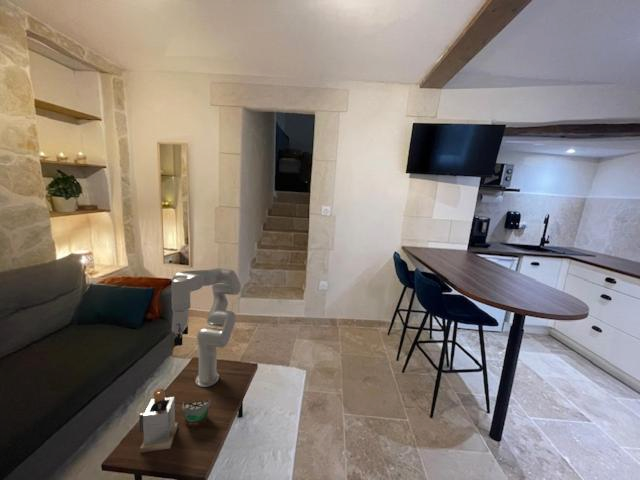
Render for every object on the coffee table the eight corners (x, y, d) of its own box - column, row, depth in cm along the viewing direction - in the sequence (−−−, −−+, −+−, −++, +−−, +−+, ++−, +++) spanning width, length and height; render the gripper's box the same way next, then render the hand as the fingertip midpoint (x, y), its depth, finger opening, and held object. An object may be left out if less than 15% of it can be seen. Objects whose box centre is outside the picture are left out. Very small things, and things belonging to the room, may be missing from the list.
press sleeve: (145, 427, 115) (144, 399, 113) (174, 424, 118) (174, 396, 116) (135, 446, 107) (135, 416, 104) (168, 442, 109) (167, 413, 107)
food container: (179, 432, 117) (179, 412, 115) (182, 420, 123) (182, 401, 121) (208, 427, 120) (209, 408, 119) (210, 416, 126) (210, 398, 124)
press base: (150, 429, 117) (150, 425, 117) (177, 426, 120) (177, 422, 119) (140, 452, 106) (140, 448, 106) (170, 448, 109) (170, 444, 109)
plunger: (155, 429, 114) (154, 388, 111) (168, 427, 116) (168, 387, 113) (150, 439, 109) (150, 397, 107) (164, 438, 111) (164, 396, 108)
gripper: (177, 297, 126) (178, 330, 129) (165, 313, 110) (166, 350, 113) (194, 297, 128) (194, 329, 131) (185, 313, 112) (185, 349, 114)
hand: (181, 339), depth 122 cm, fingers open, 9 cm apart
